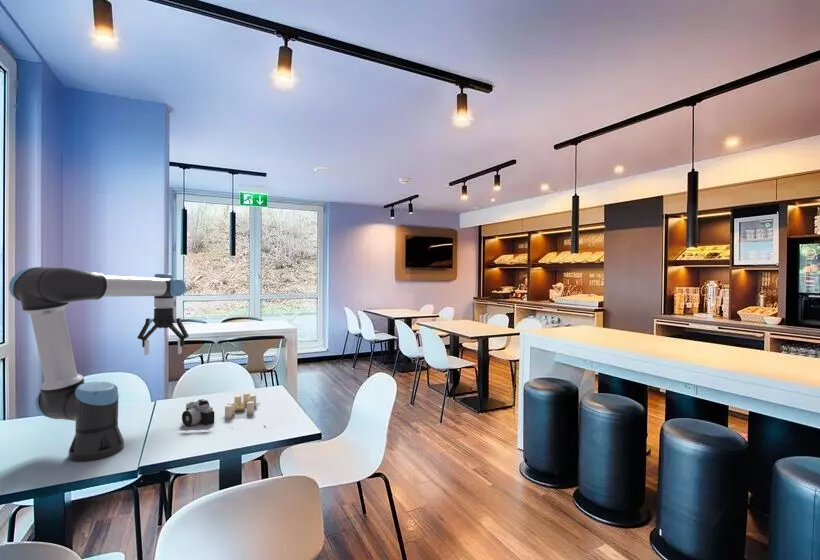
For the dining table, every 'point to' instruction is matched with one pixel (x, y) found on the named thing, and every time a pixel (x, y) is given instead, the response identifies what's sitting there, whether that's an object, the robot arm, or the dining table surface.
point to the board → (249, 407)
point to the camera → (198, 413)
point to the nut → (240, 407)
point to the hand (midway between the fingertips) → (163, 354)
